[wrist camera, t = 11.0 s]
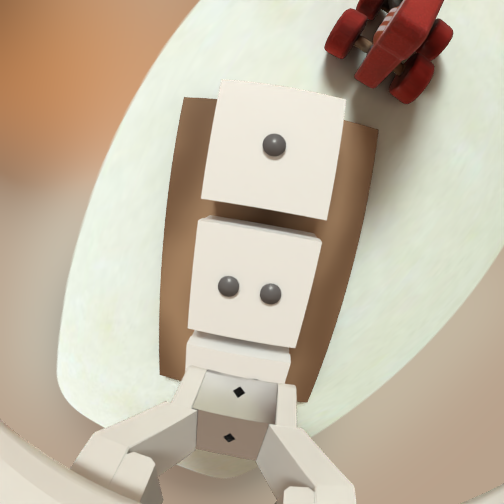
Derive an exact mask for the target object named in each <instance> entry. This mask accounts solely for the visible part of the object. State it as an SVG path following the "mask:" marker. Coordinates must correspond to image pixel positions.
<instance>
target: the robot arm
mask: <svg viewBox="0 0 504 504" xmlns="http://www.w3.org/2000/svg"><path fill="white" fill-rule="evenodd" d="M195 448H196V449H200V450H205V451H209V452H214V453H220V454H225V455H230V456H234V457H239V458H245V459H250V460H256V463H257V465H258V467H259V469H260V471H261V473H262V474H263V476H264V478H265V480H266V482H267V483H268V485H269V487H270V489H271V490H272V492H273V494H274V496H275V497H276V499H277V501H276V503H275V504H356V497H355V489H354V485H353V484H352V483H351V482H350V481H349V480H348V479H347V478H346V477H345V476H344V475H343V473H342V472H341V471H340V470H339V469H338V468H337V467H336V466H335V465H334V464H333V463H332V462H331V460H330V459H329V458H328V457H327V456H326V455H325V454H324V452H323V451H322V450H321V449H320V448H319V447H318V446H317V444H316V443H315V442H314V441H313V440H312V439H311V437H310V436H309V435H308V434H307V433H306V432H305V430H304V429H303V428H297V394H296V386H295V385H290V384H282V383H273V382H267V381H260V380H255V379H249V378H243V377H238V376H234V375H230V374H225V373H221V372H217V371H213V370H209V369H208V370H207V369H204V368H200V367H197V366H193V365H190V366H189V367H188V368H187V370H186V372H185V374H184V376H183V378H182V380H181V382H180V385H179V387H178V389H177V391H176V393H175V395H174V397H173V399H172V401H171V403H170V402H167V401H165V402H163V403H161V404H159V405H156V406H154V407H152V408H150V409H148V410H146V411H144V412H141V413H139V414H137V415H135V416H133V417H130V418H128V419H126V420H123V421H121V422H119V423H116V424H114V425H112V426H109V427H107V428H104V429H102V430H99V431H97V432H94V434H93V435H92V436H91V438H90V439H89V441H88V442H87V444H86V445H85V447H84V448H83V450H82V451H81V453H80V454H79V456H78V457H77V459H76V460H75V462H74V463H73V465H72V466H71V468H70V469H69V468H67V467H65V466H63V465H62V464H60V463H59V462H57V461H55V460H54V459H52V458H51V457H49V456H48V455H46V454H45V453H43V452H42V451H40V450H39V449H37V448H36V447H35V446H33V445H32V444H31V443H29V442H28V441H27V440H25V439H24V438H23V437H21V436H20V435H19V434H17V433H16V432H15V431H14V430H12V429H11V428H10V427H9V426H8V425H6V424H5V423H4V422H3V421H2V420H1V419H0V504H162V503H163V496H162V492H161V488H160V484H159V479H158V477H159V476H160V475H162V474H163V473H164V472H166V471H167V470H169V469H170V468H172V467H173V466H174V465H176V464H177V463H179V462H180V461H181V460H183V459H184V458H186V457H187V456H188V455H190V454H191V453H192V452H194V451H195ZM460 504H504V484H502V485H500V486H498V487H496V488H494V489H492V490H490V491H488V492H486V493H484V494H482V495H479V496H477V497H475V498H472V499H470V500H468V501H465V502H463V503H460Z"/></svg>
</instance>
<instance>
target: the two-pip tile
mask: <svg viewBox="0 0 504 504" xmlns="http://www.w3.org/2000/svg"><path fill="white" fill-rule="evenodd" d="M321 245H322V241H321V240H320V239H319V238H317V237H316V235H315V234H314V233H310V232H305V231H299V230H294V229H288V228H283V227H277V226H272V225H266V224H261V223H255V222H249V221H243V220H237V219H231V218H225V217H219V216H213V215H209V216H208V217H206V218H202V219H200V220H198V225H197V233H196V242H195V251H194V260H193V270H192V280H191V291H190V303H189V316H188V329H193V330H197V331H202V332H206V333H211V334H216V335H221V336H226V337H231V338H236V339H241V340H247V341H252V342H258V343H264V344H270V345H276V346H283V347H290V348H295V347H296V344H297V340H298V337H299V333H300V330H301V326H302V322H303V319H304V315H305V311H306V307H307V303H308V300H309V296H310V292H311V288H312V284H313V279H314V275H315V271H316V267H317V263H318V258H319V254H320V249H321Z"/></svg>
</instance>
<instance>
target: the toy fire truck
mask: <svg viewBox="0 0 504 504" xmlns="http://www.w3.org/2000/svg"><path fill="white" fill-rule="evenodd" d="M443 1H444V0H359V2H358V4H357V7H356V10H354V9H351V8H350V9H348V10H346V11H345V12H344V13H343V14H342V16H341V17H340V18H339V20H338V21H337V23H336V24H335V26H334V28H333V29H332V31H331V33H330V35H329V36H328V39H327V41H326V44H325V47H324V48H325V50H326V51H327V52H328V53H330V54H332V55H334V56H335V57H337V58H340V59H343V58H345V57H346V56H347V54H348V53H349V51H350V50H351V48H352V47H353V45H354V46H356V47H357V48H359V49H360V50H362V51H363V52H365V53H367V55H366V57H365V59H364V60H363V62H362V64H361V65H360V67H359V69H358V70H357V72H356V74H355V75H354V77H355V79H356V80H358V81H360V82H361V83H363V84H365V85H366V86H368V87H370V88H376V87H377V86H378V85H379V84H380V83H381V82H382V81H383V80H384V79H385V78H386V77H387V76H388V75H389V74H390V73H391V72H392V71H393V72H395V73H396V75H395V77H394V79H393V81H392V83H391V85H390V89H389V92H390V93H391V95H393V96H394V97H395V98H397V99H398V100H399V101H401V102H402V103H404V104H409V103H411V102H413V101H414V100H415V99H416V98H417V97H418V96H419V95H420V94H421V93H422V92H423V91H424V89H425V88H426V87H427V85H428V84H429V82H430V80H431V78H432V76H433V74H434V65H433V63H432V62H431V60H433V59H435V58H436V57H437V56H438V55H439V54H440V53H441V52H442V51H443V50H444V49H445V48H446V46H447V45H448V44H449V42H450V40H451V39H452V37H453V30H452V28H451V27H450V26H448V25H447V24H446V23H445V22H444V21H442V20H441V19H436V17H437V15H438V12H439V10H440V8H441V6H442V4H443ZM381 9H382V10H384V11H385V12H387V13H388V14H387V16H386V17H385V18H384V20H383V22H382V23H381V25H380V26H379V28H378V30H377V31H376V33H375V34H374V37H373V44H372V42H370V41H369V40H368V39H366V38H364V37H363V36H360V34H361V33H362V31H363V29H364V28H365V26H366V22H367V20H368V19H369V20H373V19H374V18H375V17H376V16H377V14H378V13H379V11H380V10H381ZM415 51H416V52H417V53H415V54H413V53H414V52H415ZM412 54H413V55H412ZM411 55H412V56H411ZM408 57H409V58H408ZM407 58H408V59H407ZM406 59H407V60H406ZM402 60H406V62H405V63H404V64H403V63H401V61H402Z"/></svg>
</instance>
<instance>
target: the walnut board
mask: <svg viewBox="0 0 504 504" xmlns="http://www.w3.org/2000/svg"><path fill="white" fill-rule="evenodd" d="M216 104H217V99H207V98H187V97H184V100H183V105H182V110H181V115H180V120H179V126H178V131H177V137H176V143H175V149H174V155H173V162H172V169H171V176H170V183H169V191H168V200H167V208H166V218H165V228H164V240H163V252H162V267H161V286H160V316H159V364H160V375H163V376H166V377H170V378H173V379H177V380H182V378H183V376H184V374H185V366H186V346H187V342H188V340H189V338H190V336H192V335H193V333H194V331H195V330H193V329H188V316H189V303H190V291H191V280H192V270H193V260H194V251H195V242H196V233H197V225H198V220H200V219H202V218H206V217H208V216H209V215H213V216H219V217H225V218H231V219H237V220H243V221H249V222H255V223H261V224H266V225H272V226H277V227H283V228H288V229H294V230H299V231H305V232H310V233H314V234H315V235H316V237H317V238H319V239H320V240H321V241H322V245H321V249H320V254H319V258H318V263H317V267H316V271H315V275H314V279H313V284H312V288H311V292H310V296H309V300H308V303H307V307H306V311H305V315H304V319H303V322H302V326H301V330H300V333H299V337H298V340H297V344H296V347H295V348H290V347H289V354H290V357H291V364H290V368H289V371H288V374H287V377H286V381H285V384H290V385H295V386H296V394H297V401H298V402H308V399H309V397H310V394H311V392H312V389H313V387H314V384H315V382H316V379H317V376H318V374H319V371H320V368H321V366H322V363H323V360H324V357H325V354H326V352H327V349H328V346H329V343H330V340H331V337H332V334H333V331H334V328H335V325H336V322H337V318H338V315H339V312H340V309H341V305H342V302H343V299H344V295H345V292H346V288H347V285H348V281H349V277H350V274H351V270H352V266H353V262H354V258H355V254H356V250H357V246H358V242H359V238H360V233H361V229H362V224H363V220H364V215H365V210H366V205H367V200H368V195H369V189H370V184H371V178H372V172H373V166H374V160H375V153H376V146H377V138H378V129H374V128H371V127H368V126H364V125H360V124H357V123H353V122H349V121H345V120H344V122H343V129H342V136H341V142H340V149H339V155H338V161H337V168H336V173H335V179H334V185H333V190H332V196H331V201H330V206H329V211H328V216H327V220H322V219H317V218H311V217H306V216H301V215H296V214H290V213H285V212H280V211H274V210H268V209H263V208H257V207H251V206H245V205H239V204H233V203H226V202H220V201H213V200H207V199H201V194H202V187H203V181H204V174H205V167H206V161H207V155H208V149H209V143H210V137H211V131H212V125H213V120H214V115H215V109H216Z"/></svg>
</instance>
